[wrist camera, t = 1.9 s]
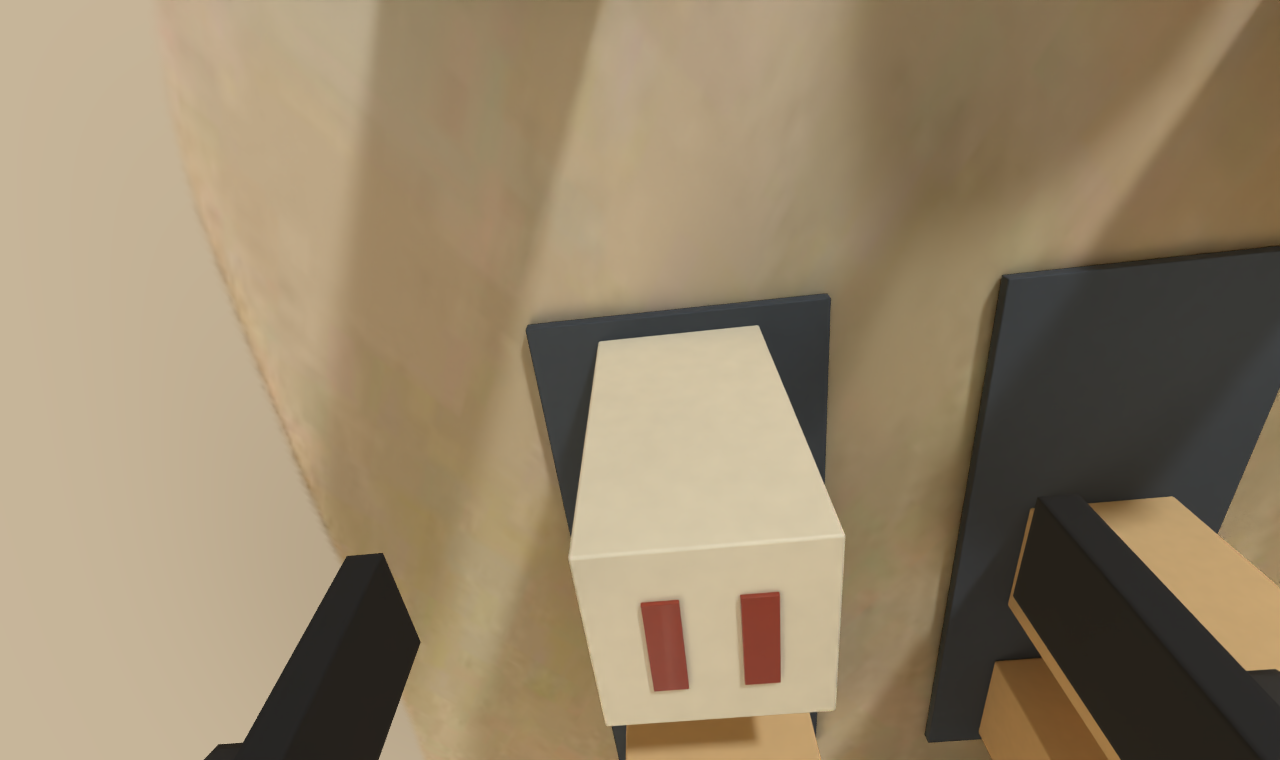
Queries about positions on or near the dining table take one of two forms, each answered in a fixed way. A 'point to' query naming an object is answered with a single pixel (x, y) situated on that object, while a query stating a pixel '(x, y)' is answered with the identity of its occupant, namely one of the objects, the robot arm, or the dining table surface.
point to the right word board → (1109, 474)
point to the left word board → (564, 367)
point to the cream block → (703, 536)
